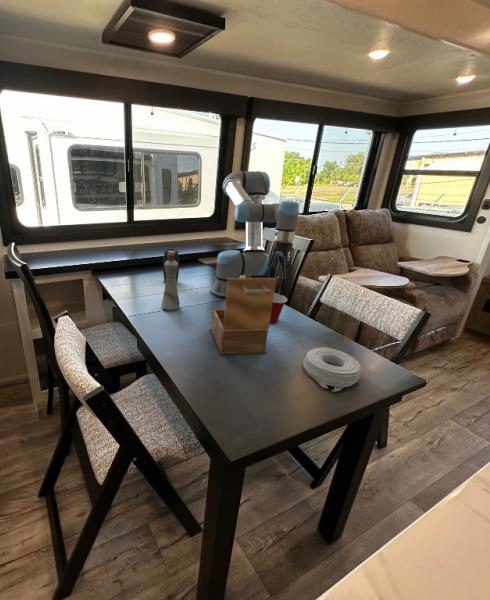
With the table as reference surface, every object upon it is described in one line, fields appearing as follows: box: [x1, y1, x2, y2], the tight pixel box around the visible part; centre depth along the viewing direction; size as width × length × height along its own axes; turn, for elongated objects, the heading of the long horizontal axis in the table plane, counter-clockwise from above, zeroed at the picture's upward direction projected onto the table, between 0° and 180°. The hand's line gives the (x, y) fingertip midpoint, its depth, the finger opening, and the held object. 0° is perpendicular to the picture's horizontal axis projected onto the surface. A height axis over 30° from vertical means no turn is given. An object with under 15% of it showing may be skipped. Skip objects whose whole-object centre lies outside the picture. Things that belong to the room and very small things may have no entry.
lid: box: [223, 277, 277, 331], centre depth 105 cm, size 19×17×8 cm
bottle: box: [161, 252, 180, 312], centre depth 147 cm, size 9×9×28 cm
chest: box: [210, 308, 269, 355], centre depth 122 cm, size 19×17×10 cm
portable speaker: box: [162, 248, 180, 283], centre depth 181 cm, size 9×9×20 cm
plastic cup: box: [269, 292, 288, 324], centre depth 139 cm, size 11×11×12 cm
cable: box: [302, 347, 362, 393], centre depth 104 cm, size 18×18×6 cm
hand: (276, 289), depth 135 cm, fingers open, 13 cm apart
